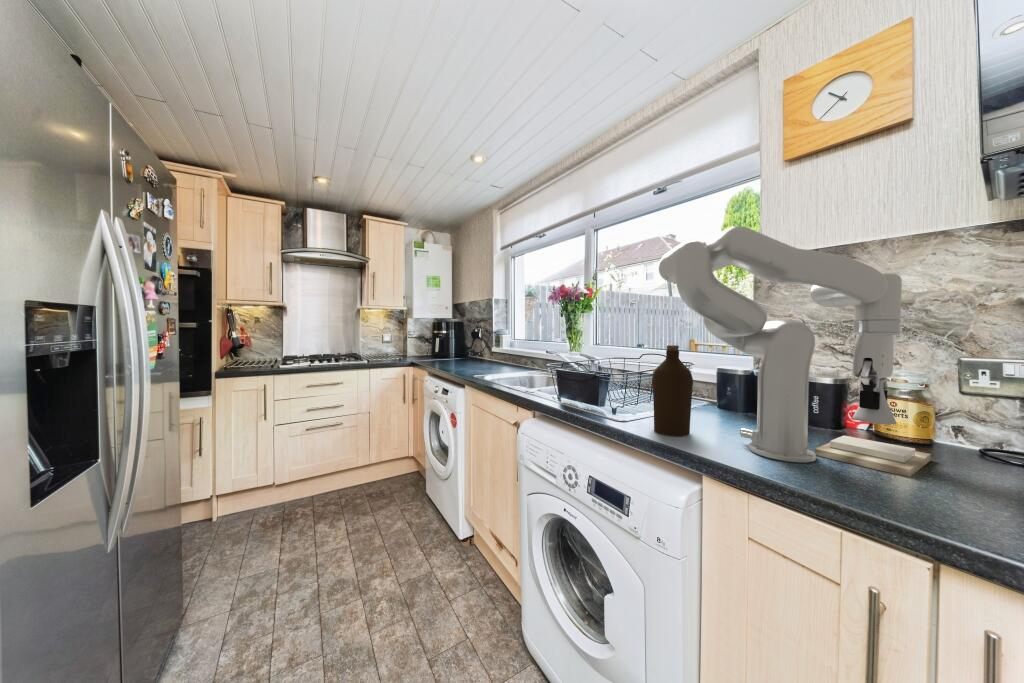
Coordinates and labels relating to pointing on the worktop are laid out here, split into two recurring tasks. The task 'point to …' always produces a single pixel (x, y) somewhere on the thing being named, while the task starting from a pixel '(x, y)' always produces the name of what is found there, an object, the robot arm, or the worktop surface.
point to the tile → (873, 448)
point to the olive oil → (672, 395)
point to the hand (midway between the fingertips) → (873, 406)
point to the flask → (876, 411)
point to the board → (876, 460)
